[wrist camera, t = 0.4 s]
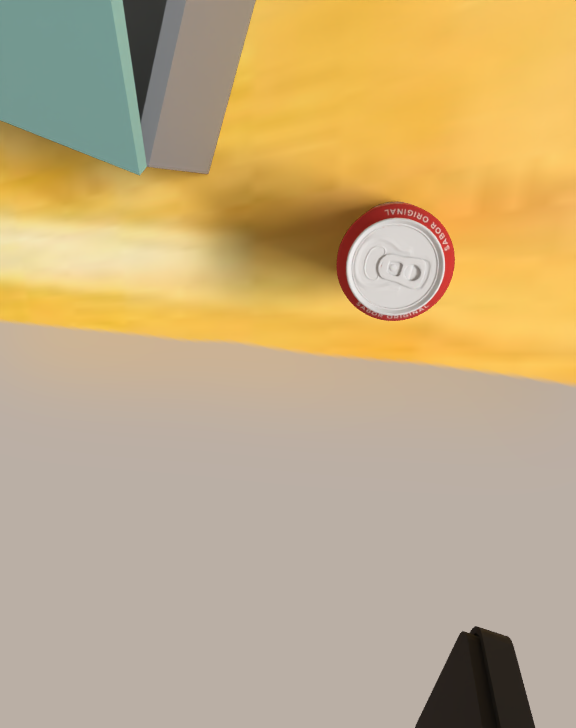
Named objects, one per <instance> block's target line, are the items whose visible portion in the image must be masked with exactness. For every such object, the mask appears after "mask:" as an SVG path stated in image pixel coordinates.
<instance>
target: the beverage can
mask: <svg viewBox="0 0 576 728" xmlns="http://www.w3.org/2000/svg"><path fill="white" fill-rule="evenodd" d="M454 264H455V257H454V248H453V245H452V241H451V239H450V236H449V234H448V232H447V231H446V229H445V227H444V226H443V225H442V224H441V223H440V221H439V220H438V219H437V218H435V217H434V216H433V215H432V214H430V213H429V212H427V211H425V210H423V209H421V208H419V207H417V206H414V205H412V204H408V203H404V202H388V203H383V204H380V205H378V206H376V207H374V208H372V209H370V210H369V211H368V212H366V213H365V214H364V215H362V216H361V217H360V218H359V219H357V220H356V221H355V222H354V223H353V224H352V225H351V227H350V228H349V229H348V231H347V232H346V234H345V236H344V237H343V239H342V242H341V244H340V247H339V250H338V255H337V275H338V279H339V283H340V286H341V288H342V290H343V292H344V294H345V295H346V297H347V298H348V299H349V301H350V302H351V303H352V304H353V305H354V306H355V307H356V308H357V309H359V310H360V311H362V312H363V313H365V314H367V315H369V316H371V317H374V318H377V319H381V320H388V321H399V320H405V319H409V318H413V317H415V316H418V315H420V314H422V313H424V312H425V311H427V310H428V309H430V308H431V307H432V306H433V305H434V304H436V303H437V302H438V301H439V299H440V298H441V297H442V296H443V294H444V293H445V291H446V290H447V288H448V286H449V284H450V281H451V279H452V275H453V271H454Z"/></svg>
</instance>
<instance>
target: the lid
mask: <svg viewBox="0 0 576 728" xmlns="http://www.w3.org/2000/svg"><path fill="white" fill-rule="evenodd" d="M0 120H1V121H3V122H6V123H8V124H11V125H14V126H16V127H19V128H21V129H24V130H26V131H29V132H31V133H34V134H36V135H39V136H41V137H44V138H46V139H49V140H51V141H54V142H57V143H59V144H62V145H64V146H67V147H69V148H72V149H74V150H77V151H79V152H82V153H84V154H87V155H89V156H92V157H94V158H97V159H100V160H102V161H105V162H107V163H110V164H112V165H115V166H117V167H120V168H122V169H125V170H127V171H130V172H132V173H135V174H138V175H140V174H141V173H142V172H143V171H144V170H145V168H146V167H147V164H146V157H145V150H144V144H143V137H142V130H141V123H140V116H139V110H138V103H137V96H136V89H135V82H134V76H133V69H132V62H131V55H130V48H129V42H128V35H127V28H126V21H125V14H124V7H123V1H122V0H0Z"/></svg>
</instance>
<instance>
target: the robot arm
mask: <svg viewBox="0 0 576 728" xmlns="http://www.w3.org/2000/svg"><path fill="white" fill-rule="evenodd" d="M415 728H535V725H534V721H533V717H532V714H531V710H530V706H529V702H528V699H527V695H526V691H525V688H524V684H523V680H522V677H521V673H520V669H519V665H518V661H517V658H516V654H515V650H514V647H513V644H512V641H511V640H510V638H509V637H507V636H504V635H501V634H498V633H495V632H492V631H489V630H486V629H483V628H480V627H476V626H475V627H474V628H473V629H472V630H471V632H470V633H467V632H461V633H460V635H459V637H458V639H457V641H456V643H455V645H454V647H453V649H452V651H451V653H450V655H449V657H448V660H447V662H446V664H445V666H444V668H443V670H442V672H441V674H440V676H439V678H438V680H437V682H436V684H435V687H434V689H433V691H432V693H431V695H430V697H429V699H428V701H427V703H426V705H425V707H424V710H423V711H422V714H421V716H420V718H419V720H418V722H417V724H416V727H415Z"/></svg>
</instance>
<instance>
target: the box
mask: <svg viewBox="0 0 576 728" xmlns="http://www.w3.org/2000/svg"><path fill="white" fill-rule="evenodd" d="M122 1H123V7H124V14H125V21H126V28H127V35H128V42H129V48H130V55H131V62H132V69H133V76H134V82H135V89H136V96H137V103H138V110H139V116H140V123H141V130H142V137H143V144H144V150H145V157H146V164H147V166H148V167H154V168H162V169H171V170H179V171H187V172H196V173H204V174H208V173H209V170H210V166H211V162H212V159H213V155H214V151H215V148H216V144H217V140H218V137H219V133H220V129H221V126H222V122H223V118H224V115H225V111H226V107H227V104H228V100H229V96H230V93H231V89H232V85H233V82H234V78H235V74H236V71H237V67H238V63H239V59H240V56H241V52H242V48H243V45H244V41H245V37H246V34H247V30H248V26H249V23H250V19H251V15H252V12H253V8H254V4H255V1H256V0H122Z"/></svg>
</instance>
